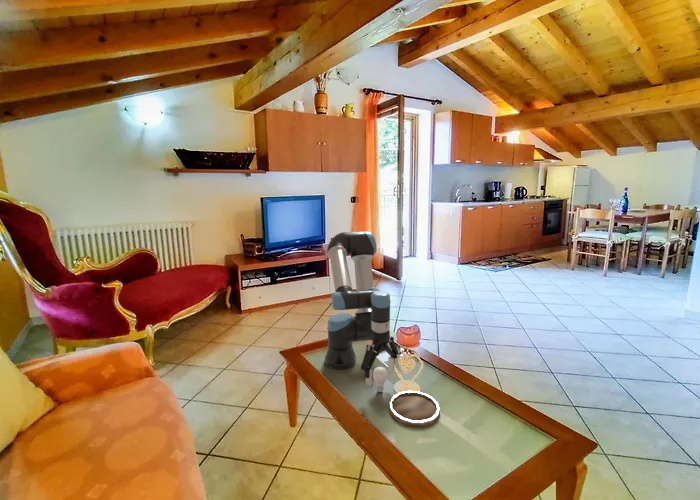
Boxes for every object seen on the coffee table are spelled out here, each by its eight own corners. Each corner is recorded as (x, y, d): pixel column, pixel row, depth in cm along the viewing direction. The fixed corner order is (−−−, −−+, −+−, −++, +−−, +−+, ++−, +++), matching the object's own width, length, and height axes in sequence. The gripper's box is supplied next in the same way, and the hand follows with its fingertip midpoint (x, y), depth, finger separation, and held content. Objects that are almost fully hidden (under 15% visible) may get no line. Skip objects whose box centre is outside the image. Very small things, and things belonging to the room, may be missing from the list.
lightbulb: (386, 397, 144) (387, 372, 142) (371, 395, 145) (371, 371, 143) (388, 388, 150) (388, 364, 148) (373, 386, 152) (373, 363, 149)
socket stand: (378, 409, 137) (378, 404, 136) (409, 388, 149) (410, 385, 149) (419, 434, 123) (419, 430, 123) (449, 410, 136) (449, 406, 135)
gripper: (365, 342, 131) (365, 393, 135) (407, 323, 148) (406, 370, 152) (351, 336, 137) (352, 385, 141) (393, 318, 153) (393, 363, 157)
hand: (380, 377), depth 146 cm, fingers open, 13 cm apart
